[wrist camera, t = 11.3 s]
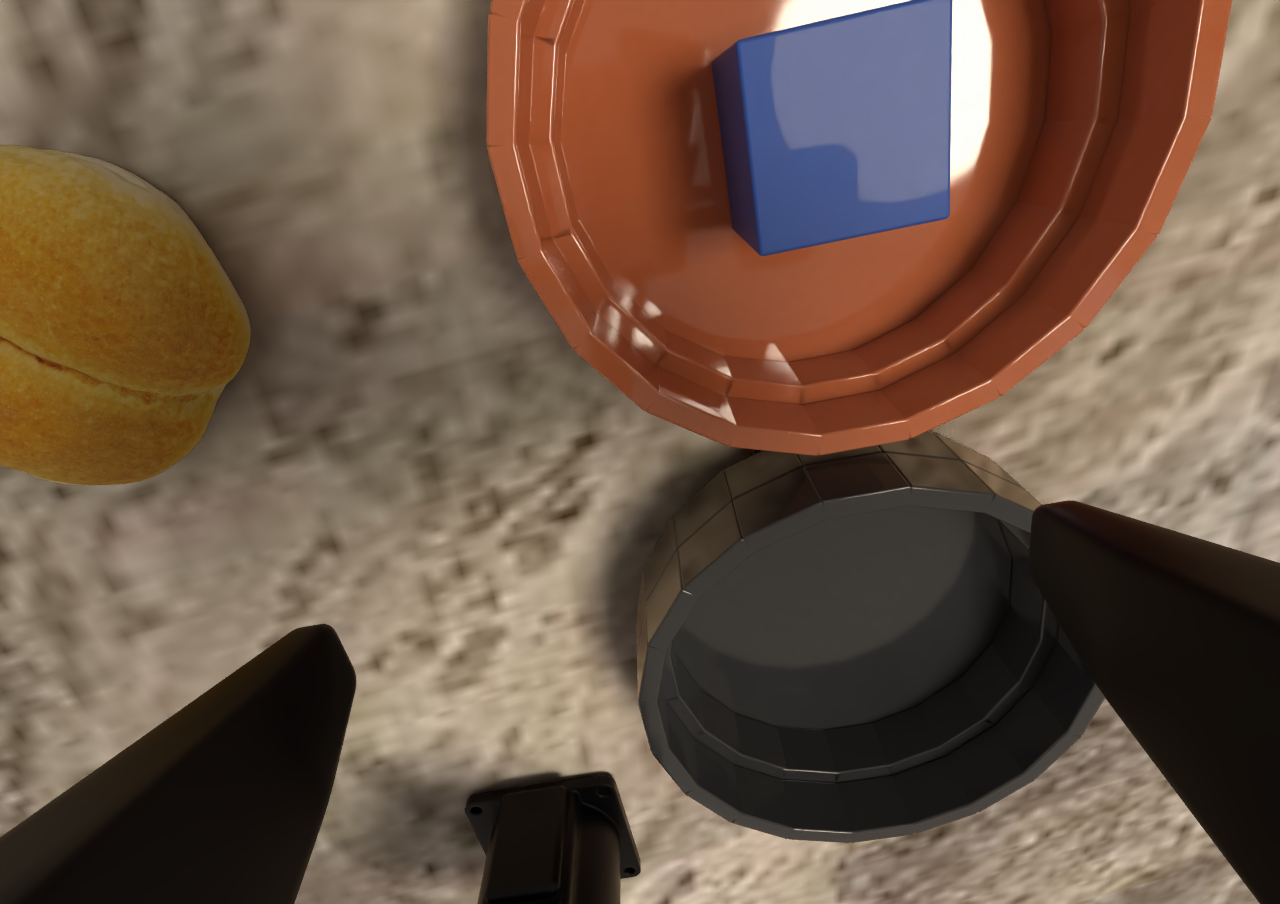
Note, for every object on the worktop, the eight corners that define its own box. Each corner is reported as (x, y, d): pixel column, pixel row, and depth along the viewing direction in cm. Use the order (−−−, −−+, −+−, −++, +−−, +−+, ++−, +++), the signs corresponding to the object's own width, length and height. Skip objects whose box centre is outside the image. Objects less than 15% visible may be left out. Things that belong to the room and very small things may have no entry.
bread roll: (304, 270, 18) (226, 305, 15) (184, 491, 21) (95, 565, 18) (-14, 59, 16) (-200, 39, 12) (-99, 342, 19) (-267, 392, 15)
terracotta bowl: (1054, 339, 20) (1165, 394, 16) (590, 426, 21) (581, 499, 17) (1113, -325, 13) (1324, -522, 9) (444, -154, 14) (373, -265, 10)
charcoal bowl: (1021, 706, 26) (1092, 810, 22) (674, 758, 27) (682, 867, 23) (1050, 379, 20) (1156, 443, 16) (599, 462, 21) (593, 541, 17)
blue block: (883, 199, 17) (951, 218, 14) (732, 231, 17) (759, 257, 14) (878, 22, 15) (954, -11, 12) (710, 60, 16) (735, 40, 12)
